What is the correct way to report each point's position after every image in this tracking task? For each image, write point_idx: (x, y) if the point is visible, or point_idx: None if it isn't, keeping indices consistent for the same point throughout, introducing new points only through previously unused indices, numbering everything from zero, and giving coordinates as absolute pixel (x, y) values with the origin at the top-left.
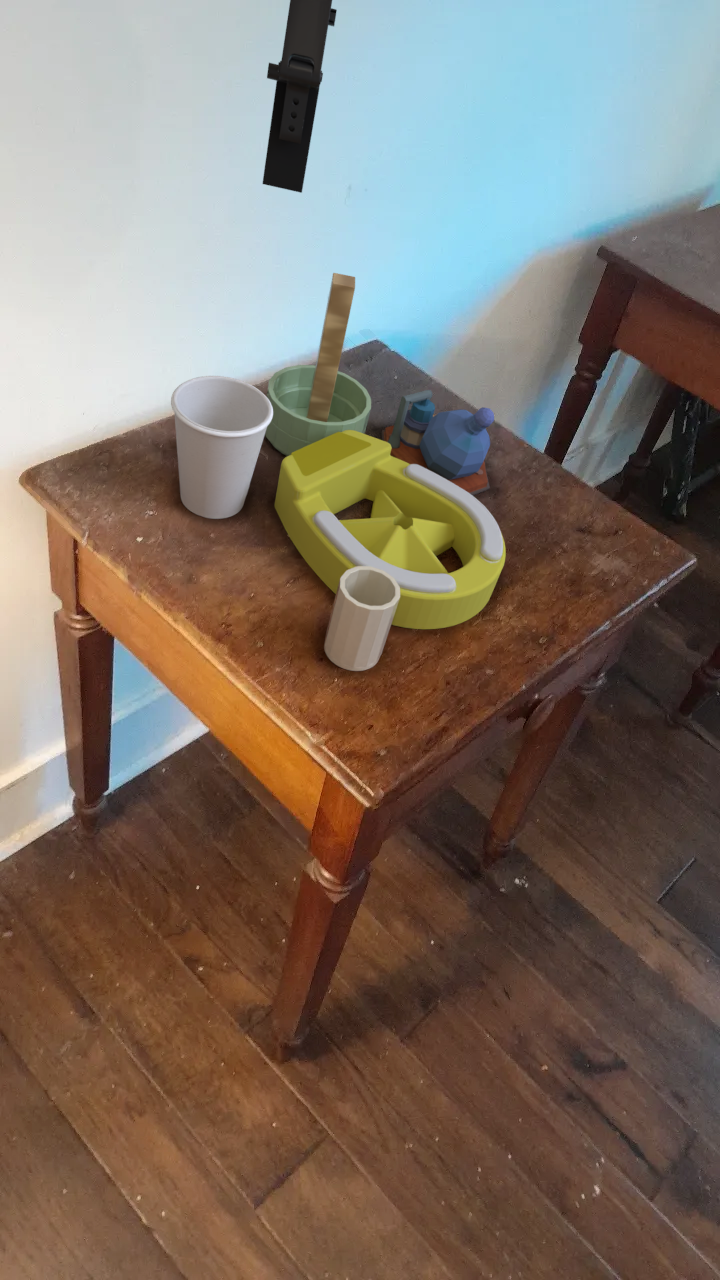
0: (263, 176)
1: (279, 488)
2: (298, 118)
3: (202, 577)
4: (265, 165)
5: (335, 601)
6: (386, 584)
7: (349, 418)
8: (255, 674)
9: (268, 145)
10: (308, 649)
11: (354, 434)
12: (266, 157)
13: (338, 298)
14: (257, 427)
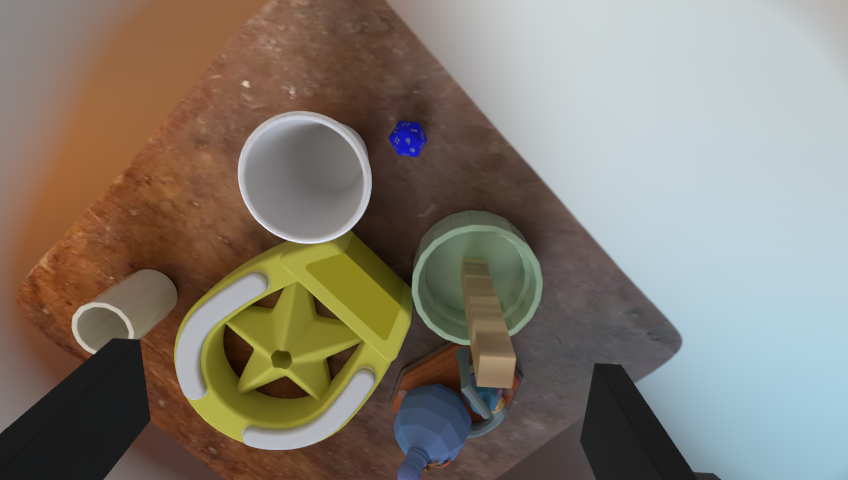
0: (102, 347)
1: None
2: None
3: (206, 154)
4: (85, 362)
5: (111, 292)
6: None
7: None
8: (95, 208)
9: (51, 393)
10: (140, 255)
11: (399, 323)
12: (70, 374)
13: (476, 355)
14: (264, 225)
